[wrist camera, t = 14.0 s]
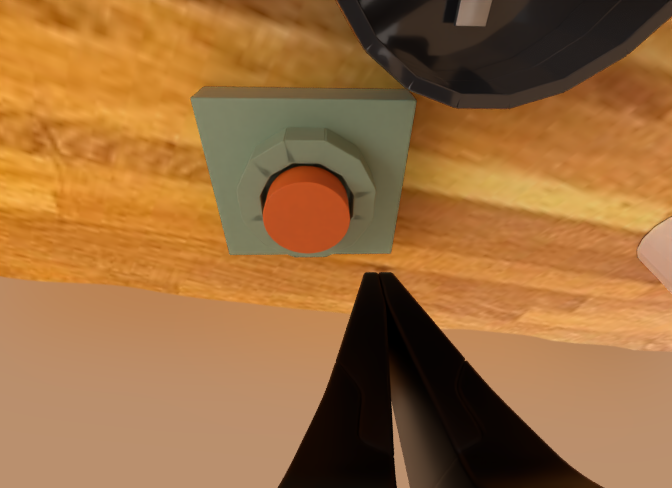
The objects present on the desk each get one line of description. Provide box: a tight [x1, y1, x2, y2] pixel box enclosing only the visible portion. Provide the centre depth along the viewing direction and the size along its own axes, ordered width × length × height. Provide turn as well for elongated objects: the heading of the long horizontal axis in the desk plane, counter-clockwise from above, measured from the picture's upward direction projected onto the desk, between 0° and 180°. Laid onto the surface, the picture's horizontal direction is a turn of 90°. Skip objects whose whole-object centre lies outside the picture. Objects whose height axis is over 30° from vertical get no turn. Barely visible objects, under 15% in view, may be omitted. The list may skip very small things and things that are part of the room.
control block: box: [191, 87, 417, 257], centre depth 19 cm, size 11×10×4 cm
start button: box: [263, 166, 350, 253], centre depth 17 cm, size 4×4×2 cm
